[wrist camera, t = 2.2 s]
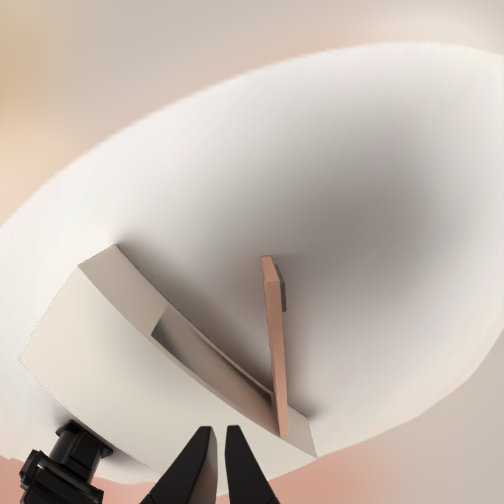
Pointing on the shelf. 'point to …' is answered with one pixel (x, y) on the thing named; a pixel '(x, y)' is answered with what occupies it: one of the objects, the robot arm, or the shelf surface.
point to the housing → (152, 373)
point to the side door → (276, 337)
